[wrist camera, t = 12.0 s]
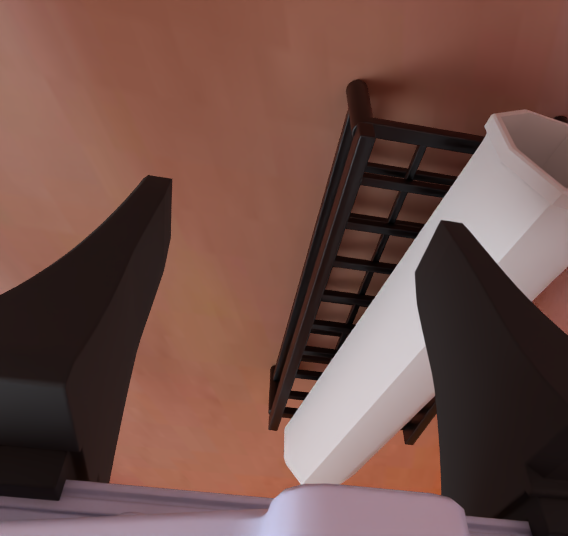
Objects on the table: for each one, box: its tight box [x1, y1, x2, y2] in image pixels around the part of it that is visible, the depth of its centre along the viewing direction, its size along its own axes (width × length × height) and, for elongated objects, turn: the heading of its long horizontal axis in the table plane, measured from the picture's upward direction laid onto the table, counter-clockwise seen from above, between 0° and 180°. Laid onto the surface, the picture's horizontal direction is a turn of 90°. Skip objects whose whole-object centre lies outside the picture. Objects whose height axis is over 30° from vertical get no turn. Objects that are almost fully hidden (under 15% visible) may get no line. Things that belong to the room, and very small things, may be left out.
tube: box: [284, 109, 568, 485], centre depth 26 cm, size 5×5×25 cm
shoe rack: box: [268, 80, 568, 445], centre depth 29 cm, size 10×22×4 cm, turn 170°
